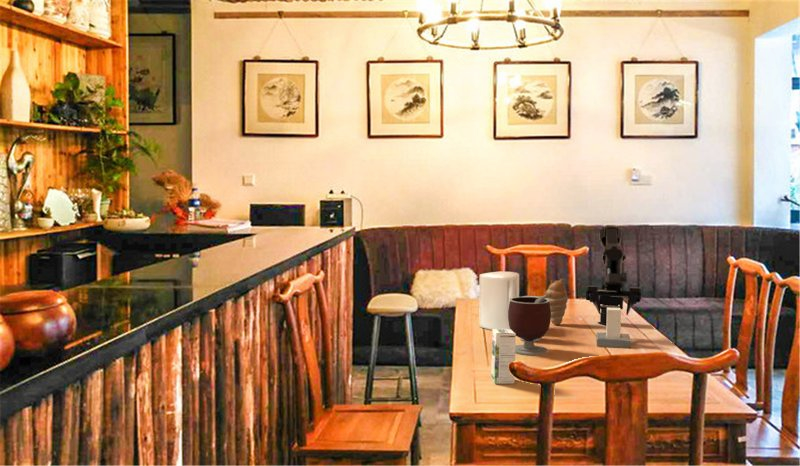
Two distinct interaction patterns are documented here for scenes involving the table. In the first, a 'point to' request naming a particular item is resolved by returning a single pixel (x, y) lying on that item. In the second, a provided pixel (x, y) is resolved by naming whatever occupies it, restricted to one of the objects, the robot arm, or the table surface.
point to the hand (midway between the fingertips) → (613, 313)
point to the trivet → (613, 341)
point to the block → (613, 322)
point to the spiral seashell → (557, 300)
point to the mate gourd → (529, 322)
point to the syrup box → (502, 355)
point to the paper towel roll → (496, 298)
